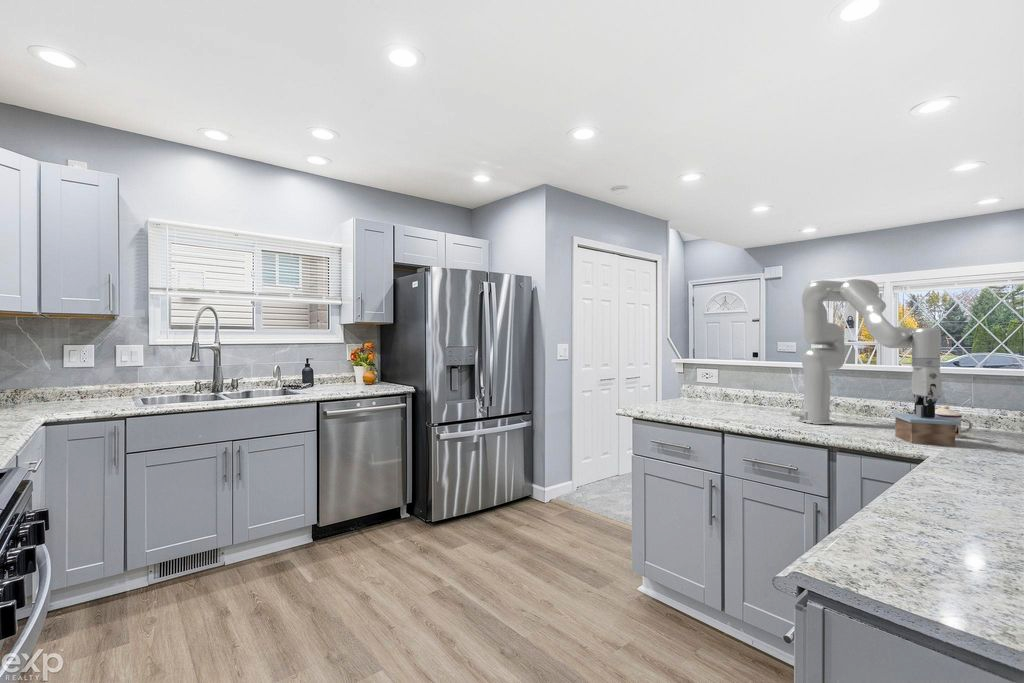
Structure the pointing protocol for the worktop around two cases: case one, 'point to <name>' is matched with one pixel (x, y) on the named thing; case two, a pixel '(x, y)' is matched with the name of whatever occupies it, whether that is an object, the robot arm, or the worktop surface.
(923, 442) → the box
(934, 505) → the worktop surface
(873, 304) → the robot arm
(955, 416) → the teacup with lid
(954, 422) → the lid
